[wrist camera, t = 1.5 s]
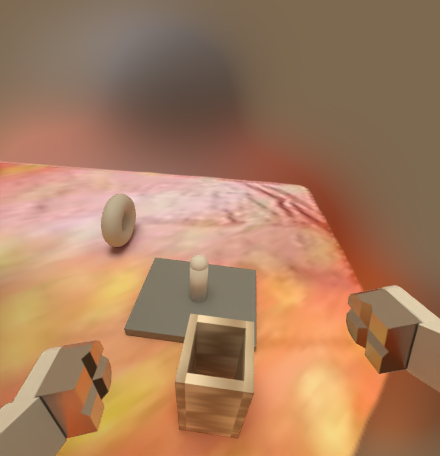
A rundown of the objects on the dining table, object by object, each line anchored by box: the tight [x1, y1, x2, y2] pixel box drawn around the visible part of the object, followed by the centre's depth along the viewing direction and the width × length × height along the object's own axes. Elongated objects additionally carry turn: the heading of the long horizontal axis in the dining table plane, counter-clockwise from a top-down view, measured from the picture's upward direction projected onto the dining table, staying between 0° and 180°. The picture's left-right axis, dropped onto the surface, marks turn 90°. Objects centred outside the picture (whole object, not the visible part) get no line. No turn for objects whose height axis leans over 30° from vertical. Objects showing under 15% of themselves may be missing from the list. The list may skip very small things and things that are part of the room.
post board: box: [124, 255, 256, 352], centre depth 39 cm, size 18×14×10 cm
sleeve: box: [175, 314, 254, 438], centre depth 27 cm, size 6×6×12 cm
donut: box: [101, 194, 136, 247], centre depth 49 cm, size 10×4×10 cm, turn 174°
